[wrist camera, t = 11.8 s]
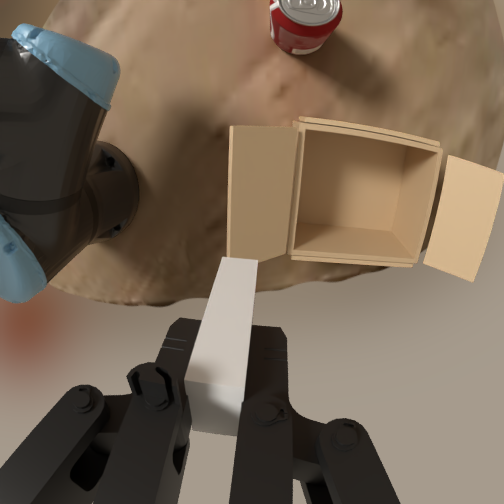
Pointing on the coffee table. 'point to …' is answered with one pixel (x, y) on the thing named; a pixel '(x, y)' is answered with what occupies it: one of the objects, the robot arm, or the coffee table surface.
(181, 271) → the coffee table surface
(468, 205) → the flap
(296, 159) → the carton
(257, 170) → the flap
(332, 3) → the soda can
